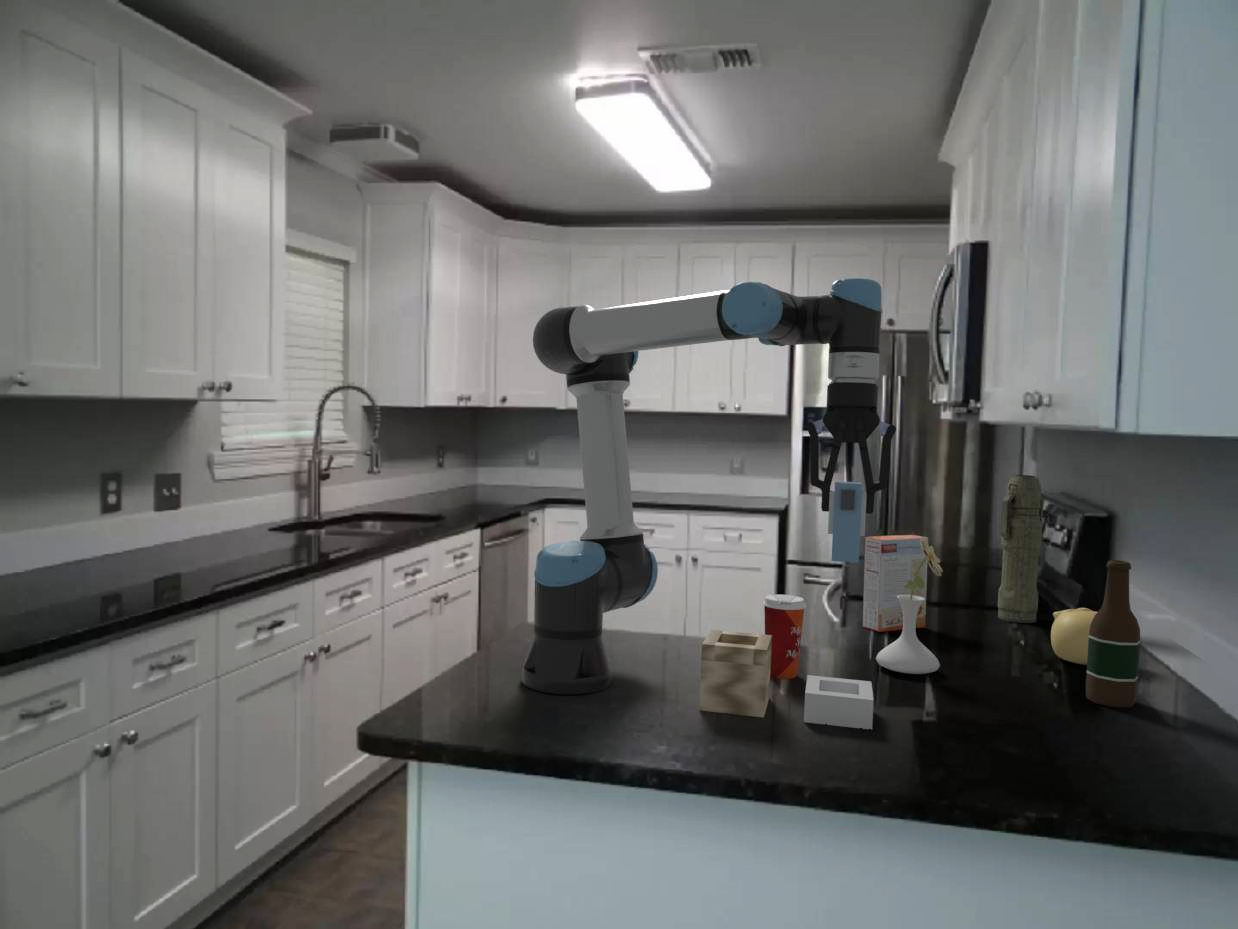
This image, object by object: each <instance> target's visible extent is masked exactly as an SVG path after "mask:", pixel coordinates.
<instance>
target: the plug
mask: <svg viewBox="0 0 1238 929" xmlns="http://www.w3.org/2000/svg"><path fill="white" fill-rule="evenodd" d="M834 491H835V493H834V516H833V534H832V541H831V542H832V544H831V545H832V546H831V562H838V563H839V562H841V563H856V564H859V563H860V562H859V561H860V560H859V558H860V538H861V536H860V520H861V498H862V492H863V483H862V482H861V481H860V482H858V481H855V482H854V481H839V480H838V481H835V482H834Z"/></svg>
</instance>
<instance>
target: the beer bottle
mask: <svg viewBox="0 0 1238 929" xmlns="http://www.w3.org/2000/svg"><path fill="white" fill-rule="evenodd" d="M1105 567H1106V568H1107V573H1106V574H1107V575H1106V580H1105V582H1106V583H1105V589H1104V595H1103V596H1104V598H1103V602H1102V605H1101V608H1100V609H1099V610H1098V611H1096V612H1097V614H1096V615H1095V616H1094V618H1093V620H1092V622H1091V624H1090V631H1089V641H1088V658H1087V665H1086V676H1085V697H1086V699H1087V700H1089V701H1091V702H1093V703H1095V704H1097V705H1100V706H1101V705H1102V706H1106V707H1111V708H1115V709H1116V708H1117V709H1118V708H1119V709H1125V708H1126V709H1127V708H1132V707H1133V706H1134V705H1135V703H1136V702H1137V694H1138V684H1139V670H1140V669H1139V666H1140V651H1141V650H1140V649H1141V628H1140V624H1139V621H1138V619H1137V617H1136V616H1135V614H1134V613H1133V611H1132V610H1131V604H1130V570H1131V569H1132V564H1131V563H1130V562H1129V561H1126V560H1119V559H1111V560H1107V562H1106V566H1105Z"/></svg>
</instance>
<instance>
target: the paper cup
mask: <svg viewBox="0 0 1238 929" xmlns="http://www.w3.org/2000/svg"><path fill="white" fill-rule="evenodd" d="M762 605H763V606H764V609H763V610H764V635H772V643H771V666H770V678H774V679H779V680H780V679H781V680H791V679H795V678H797V677H798V670H799V660H800V653H801V652H800V651H801V641H802V634H803V632H802V631H803V624H804V622H803V621H804V616H805V615H804V613H805V612H804V611H805V609H806V608H807V606H806V603H805V600H804V598H803V597H800V596H797V595H791V594H779V593H778V594H769V595H768V594H767V595H766V596H765V598H764V601H762Z"/></svg>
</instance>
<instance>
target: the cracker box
mask: <svg viewBox="0 0 1238 929" xmlns="http://www.w3.org/2000/svg"><path fill="white" fill-rule="evenodd" d="M921 537H923V539H924V540H925V538H926V539H927V541H928V542H929V537H927V536H922V535H921V536H920V535H916V534H904V535H901V534H900V535H897V534H896V535H877V536H874V535H873V536H866V537H865V538H864V539H865V540H864V542H865V543H864V562H863V563H864V566H863V567H864V568H863V569H864V570H863V598H862V599H863V601H862V602H863V603H862V628H864V629H867V630H872V631H875V632H878V633H883V632H891V631H892V632H893V631H901V630H902V631H903V610H902V606H901V603H900V601H899V600H898V598H897V596H898V595H911V590H909V589H906V588H904V586H905V585H906V584H907V583H908V582H909V580H911V581H912V582H913V581H914V577H915V574H916V571H917V569H918V567H919V566H920V564H921V562H922V561H923V559H924V557H925V556H924V554H923V551H922V549H921V545H920V539H921ZM917 576H920V577H921V578H922V579H923V581H924V584H925V587H924V588H923V589H920V588H919V587H917V588H915V589H914V590H913V596H919V597H923V598H925V600H924V601H923V603H922V604H921V605H920V607H919V610H918V613H917V618H916V629H922V628H926V616H927V615H926V612H927V611H926V610H927V586H928V585H927V584H928V563H927V561H926V560H925V561H924V563H923V565H922V566H921V568H920V570H919V572H918V574H917ZM915 584H916V582H915Z"/></svg>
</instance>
